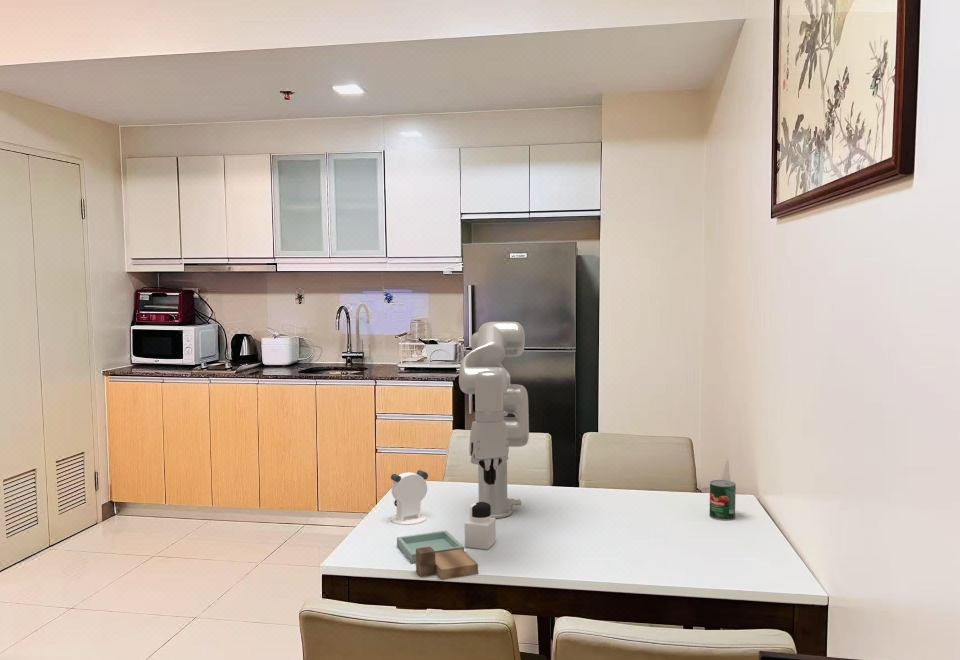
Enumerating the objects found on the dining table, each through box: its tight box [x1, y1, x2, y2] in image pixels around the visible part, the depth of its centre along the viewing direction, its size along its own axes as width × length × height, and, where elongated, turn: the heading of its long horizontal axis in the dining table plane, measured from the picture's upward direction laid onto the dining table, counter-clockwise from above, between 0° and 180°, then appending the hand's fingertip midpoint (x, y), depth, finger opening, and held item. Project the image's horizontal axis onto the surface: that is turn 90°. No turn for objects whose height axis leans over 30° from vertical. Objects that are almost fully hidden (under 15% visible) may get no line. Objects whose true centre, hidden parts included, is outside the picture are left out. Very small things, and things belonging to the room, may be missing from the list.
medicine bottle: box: [464, 501, 497, 551], centre depth 206 cm, size 7×7×12 cm
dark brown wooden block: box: [415, 547, 437, 578], centre depth 186 cm, size 4×4×6 cm
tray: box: [396, 530, 465, 565], centre depth 202 cm, size 15×15×2 cm
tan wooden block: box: [435, 549, 479, 581], centre depth 189 cm, size 10×12×3 cm
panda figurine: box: [390, 469, 429, 526], centre depth 230 cm, size 12×11×15 cm
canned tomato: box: [708, 479, 737, 521], centre depth 230 cm, size 8×8×11 cm
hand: (489, 483), depth 195 cm, fingers closed
